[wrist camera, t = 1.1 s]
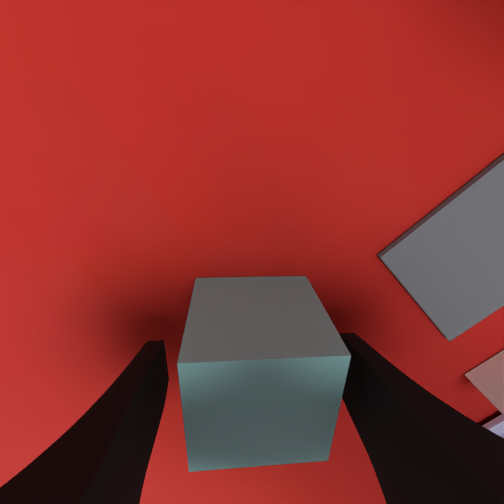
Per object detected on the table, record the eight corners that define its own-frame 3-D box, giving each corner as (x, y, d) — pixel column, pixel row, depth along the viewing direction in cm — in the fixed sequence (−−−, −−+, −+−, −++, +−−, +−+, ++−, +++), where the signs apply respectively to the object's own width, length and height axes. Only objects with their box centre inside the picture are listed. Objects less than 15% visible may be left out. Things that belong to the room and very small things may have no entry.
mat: (571, 252, 13) (579, 255, 13) (445, 337, 15) (449, 341, 14) (521, 139, 11) (529, 139, 10) (377, 255, 12) (380, 257, 12)
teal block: (305, 275, 13) (351, 355, 8) (295, 357, 14) (327, 460, 10) (195, 276, 12) (177, 363, 8) (201, 362, 14) (189, 471, 9)
